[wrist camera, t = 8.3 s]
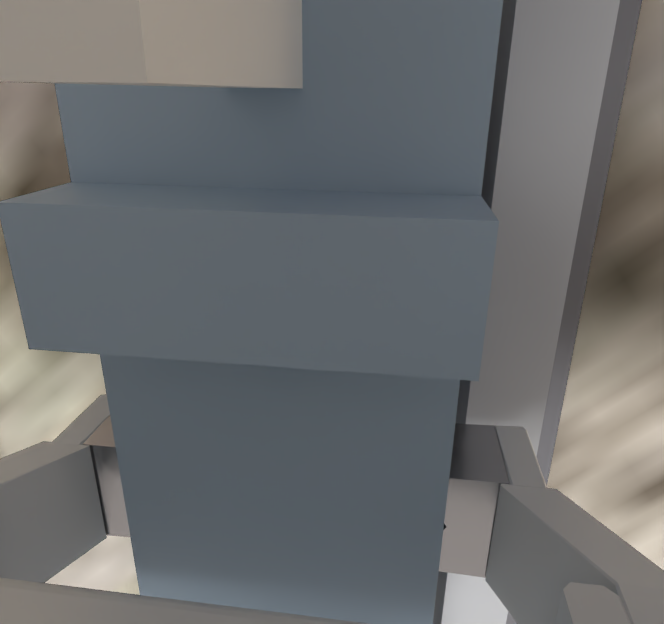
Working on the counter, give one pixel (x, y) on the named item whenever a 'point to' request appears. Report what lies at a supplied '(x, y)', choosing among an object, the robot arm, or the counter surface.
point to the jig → (541, 225)
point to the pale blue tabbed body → (268, 278)
